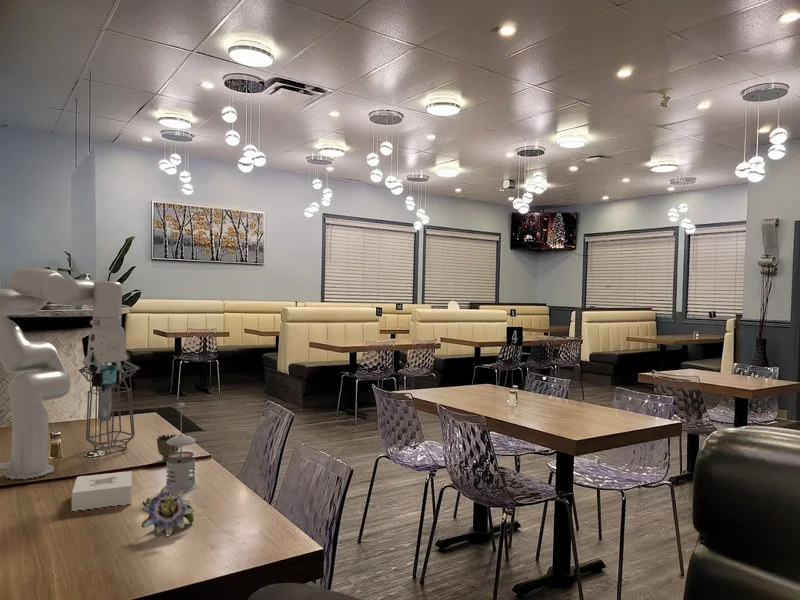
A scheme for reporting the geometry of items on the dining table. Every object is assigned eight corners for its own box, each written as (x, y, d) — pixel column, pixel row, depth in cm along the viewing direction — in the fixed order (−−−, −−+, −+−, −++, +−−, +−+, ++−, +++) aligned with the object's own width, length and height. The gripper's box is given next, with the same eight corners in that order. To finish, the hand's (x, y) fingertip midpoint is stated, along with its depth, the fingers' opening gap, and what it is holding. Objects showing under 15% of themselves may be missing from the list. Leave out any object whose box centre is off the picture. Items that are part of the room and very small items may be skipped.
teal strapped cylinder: (124, 419, 169) (125, 365, 169) (108, 423, 164) (109, 367, 164) (101, 416, 173) (102, 362, 172) (85, 420, 168) (86, 364, 167)
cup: (174, 463, 192) (174, 439, 192) (152, 463, 192) (152, 439, 192) (183, 457, 199) (183, 434, 199) (162, 456, 199) (162, 433, 199)
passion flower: (168, 558, 135) (140, 527, 129) (152, 535, 143) (125, 505, 137) (208, 523, 141) (184, 491, 135) (190, 502, 149) (167, 472, 142)
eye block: (71, 511, 149) (71, 492, 149) (76, 494, 162) (77, 476, 161) (131, 504, 155) (131, 485, 154) (131, 488, 167) (131, 471, 167)
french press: (164, 495, 162) (165, 407, 161) (160, 483, 172) (161, 400, 172) (200, 490, 166) (201, 404, 166) (195, 478, 176) (195, 397, 176)
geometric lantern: (143, 448, 209) (142, 353, 208) (100, 460, 196) (100, 358, 194) (118, 441, 218) (117, 350, 216) (76, 452, 204) (75, 354, 203)
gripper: (91, 325, 159) (89, 390, 159) (140, 322, 175) (138, 382, 175) (71, 324, 161) (70, 388, 162) (121, 321, 177) (120, 379, 178)
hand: (105, 384), depth 168 cm, fingers closed on teal strapped cylinder, 5 cm apart
